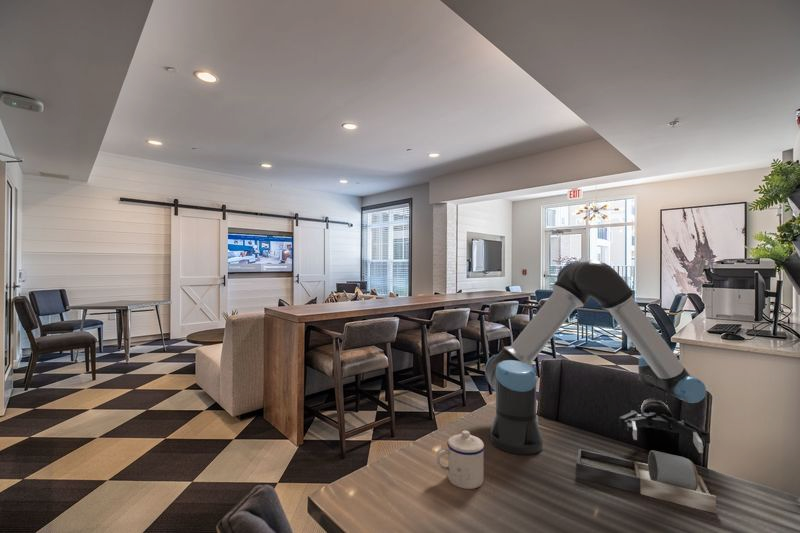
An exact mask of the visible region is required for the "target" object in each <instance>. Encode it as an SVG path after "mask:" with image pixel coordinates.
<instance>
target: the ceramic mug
mask: <svg viewBox="0 0 800 533" xmlns="http://www.w3.org/2000/svg"><path fill="white" fill-rule="evenodd" d="M647 464H648V470H649V476H650V479H651V480H653V481H657V482H661V483H665V484H669V485H673V486H678V487H682V488H686V489H690V490H694V491H696V490H697V488H698V484H699V483H698V476H699V473H698V471H697V467H696V465H695V464H694V462H693V461H692V460H690V459H689V458H686V457H684V456H679V455H676V454H675V455H674V454H671V453H666V452H662V451H658V450H653V449H652V450H650V451H649V453H648V457H647Z"/></svg>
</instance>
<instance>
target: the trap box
mask: <svg viewBox="0 0 800 533" xmlns="http://www.w3.org/2000/svg"><path fill="white" fill-rule="evenodd" d="M577 453H578V454H577V461H576V464H575V467H576V468H575V477H576V478H578V479H582V480H585V481H590V482H593V483H598V484H601V485H605V486H609V487H612V488H616V489H620V490H625V491H628V492H631V493H632V492H633V493H636V494H640V495H644V496H647V497H651V498H655V499H658V500H662V501H666V502H670V503H674V504H677V505H681V506H685V507H689V508H693V509H697V510H700V511H704V512H709V513H711V514H717V496H716V495H714V494H710V492H709V490H708V488H707V486H706V483H705V482H704V480H703V478H702V476H701V475H698V488H697V490H696V491H694V490H690V489H686V488H682V487H678V486H673V485H669V484H665V483H661V482H657V481H653V480H651V479H650V476H649V470H648V463H645V462H640V461H635V460H630V459H626V458H622V457H617V456H614V455H613V456H612V455H608V454H603V453H599V452H594V451H591V450H586V449H581V448H579V449H578V452H577ZM582 457H587V458H590V459H594V460H598V461H604V462H608V463H612V464H614V465H615V464H617V465H620V466H624V467H629V468H633V469H634V473H635V474H634V475H632V474H627V473H623V472H619V471H614V470H611V469H607V468H602V467H599V466H594V465H589V464H586V463H582V459H581V458H582Z"/></svg>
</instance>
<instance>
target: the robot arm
mask: <svg viewBox="0 0 800 533" xmlns="http://www.w3.org/2000/svg"><path fill="white" fill-rule="evenodd" d="M634 294H635V293H634V291H633V290H632V288H631V287H630V285H628V283H627V282H626V281H625V279H623V276H621V275H620V274H619V273H618V272H617V271H616V270H615V269H614V268H613V267H611V265H609V264H607V263H605V262H602V261H599V260H587V261H573V262H570V263H568V264H566V265H564V266H563V267H561V269H560V270H559V271H558V273H557V277H556V281H555V282H554V283H553V285H552V294H551V295H550V296H549V297H548V298H547V300H546V301H545V302H544V303H543V305H542V306H541V307H540V308H539V309H538V311H537V313H535V315H534V316H533V317H532V318H531V320H530V321H529V322H528V324H527V325H526V326H525V327H524V329H523V330H522V331H521V332H520V334H518V336H517V338H515V340H514V341H513V342H512V344H510V346H508V345H507V346H504V347H503V348H501V350H500V351H499V353H498V354H495V355H492V356H491V357H490V358H489V359H488V360H487V362H486V364H485V366H484V374H485V378H486V380H487V383H488V385H489V386H490V387H491V388H492V389H493V391H494V392H495V417H494V419H493V422H492V426H491V429H490V433H489V434H490V435H489V438H490V442H491V444H492V445H493V446H495V447H496V448H497V449H499V450H501V451H504V452H507V453H510V454H516V455H525V456H526V455H534V454H537V453H540V452H541V451H542V449H543V448H544V447H543V446H544V444H543V441H544V440H543V436H542V432H541V430H540V427H539V424H538V421H537V379H538V378H537V374H536V369H535V368H534V367H533V362H534V361H535V360H536V358H537V357H538V355H539V354H540V353H541V352H542V351H543V349H544V348H545V346H546V345H548V343H549V342H550V341H551V339H552V338H553V337H554V336H555V335H556V333H557V332H558V331H559V329H560V328H561V327H562V326H563V324H564V323H565V322H566V320H568V318H569V317H570V316H571V314H572V313H573V312H574V311H575V309H576V308H583V307H584V306H585V304H586V303H587V302H588V301H589V300H590V298H591V299H593V301H594V300H595V302H597V303H598V304H599V306H600V307H601V309H603V310H606V311H608V312H609V313H610V315H611V316H612V318H613V319H614V320H615V321H616V323H617V324H618V325H619V326H620V328H621V329H622V331H623V332H624V334H625V335H626V336H627V337H628V339H629V340H630V342H631V343H632V344H633V346H634V347H635V348H636V349H637V351H638V352H639V354H640V357H639V358H638V366H637V368H638V370H637V371H638V381H639V380H640V381H641V382H642V384H644V385H646V386H650V387H656V388H658V389H660V390H662V391H664V392H666V394H669V395H671V396H673V397H674V398H677V399H678V400H680V401H684V402H686V403H689V404H695V403H699V402H701V401H703V400H704V398H705V397H706V394H707V387H706V385H705V383H704V382H703V381H702V380H701V379H699V378H698V377H696V376H694V375H691V374H690V373H689V372H688V371H687V369H686V368H685V367H684V365H683V364H682V362H681V361H680V360H679V359H678V357H677V356H676V355H675V353H674V351H672V349H671V348H670V346H669V345H668V344H667V342H666V341H665V340H664V339H663V337H662V335H661V334H660V333H659V331H658V330H657V329H656V327H655V326H654V325H653V323H652V322H651V321H650V319H649V318H648V316H647V315H646V314H645V313H644V312H643V310H642V309H641V307H640V306H639V304H638V303H637V301H636V300H635V299H634V298H633V297H634ZM639 374H643V375H640V376H639ZM644 375H649V376H644ZM650 376H652V377H650ZM649 377H650V378H649ZM640 410H641V414H639V413H638V412H637V410H633V409H632V410H630V412H629V413H626V414H624V415H621V416H619V427H621V428H625V427H626V431H627V432H629V433H632V438H633V440H634V441H638V429H639V428H647V429H649V428H651V429H654V430H658V431H660V430H661V431H662V430H663V431H665V430H667V431H669V432H671V433H673V434H674V433H675V434H676V433H677V434H678V435H682V436H684V437H686V438H687V439H689V440H692V442H693V444H694V446H695V449H696V451H697V452H698V453H699V454H704V452H703V451H704V450H703V449H704V447H706V444H711V434H710V432H708V431H706V430H704V429H702V428H701V427H698V426H696V425H695V424H693V423H691V422H690V421H689V420H688V419H686V418H683V419H682V420H681V421H680V420H677V419H676V418H674V417H673V414H672V411H671V409H670V408H669V406H668V404H667V405H666V404H665V403H664V402H662V401H661V400H658V399H655V398H649V399H646V400H644V401H643V403H642V405H641V408H640Z"/></svg>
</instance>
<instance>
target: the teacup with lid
mask: <svg viewBox="0 0 800 533" xmlns="http://www.w3.org/2000/svg"><path fill="white" fill-rule="evenodd" d="M446 445H447V447H448V448H447V449H442V450H439V452H437V454H436V455H435V461H436V464H437V466H438V468H439V469H440V470H441V471H443V472H447V473H448V474H447V476H448V480H449V481H450V483H451V484H453V485H454V486H455V487H458V488H460V489H465V490H472V489H476V488H479V487H481V486H482V484H483V483H484V450H485V444H484V442H483V440H482V439H480V438H479V437H478V436H475V435H472V434H471V432H470V431H469V430H463V431H461V433H458V434H454V435H451V436H450V437H449V438H448V440H447V444H446ZM444 455H447V456H448V457H447V459H448V460H447V462H448V464H447V465H448V466H443V465H442V464H441V462H440V458H441V457H442V456H444Z"/></svg>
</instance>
